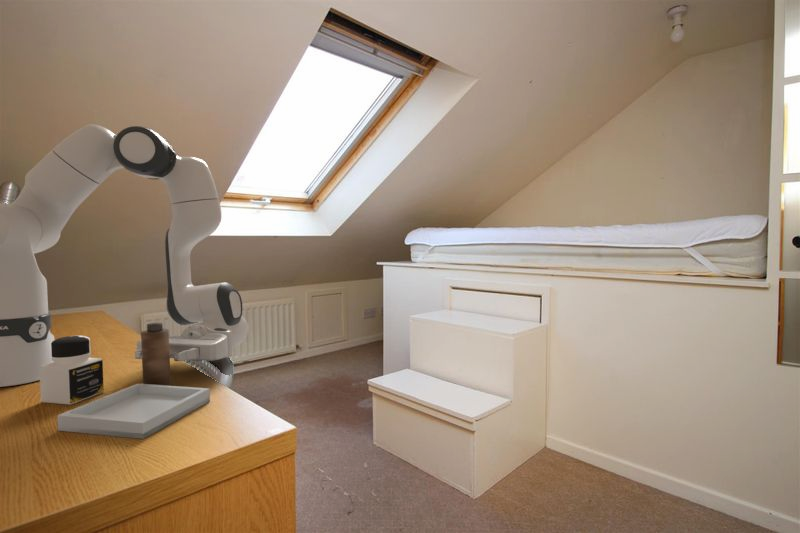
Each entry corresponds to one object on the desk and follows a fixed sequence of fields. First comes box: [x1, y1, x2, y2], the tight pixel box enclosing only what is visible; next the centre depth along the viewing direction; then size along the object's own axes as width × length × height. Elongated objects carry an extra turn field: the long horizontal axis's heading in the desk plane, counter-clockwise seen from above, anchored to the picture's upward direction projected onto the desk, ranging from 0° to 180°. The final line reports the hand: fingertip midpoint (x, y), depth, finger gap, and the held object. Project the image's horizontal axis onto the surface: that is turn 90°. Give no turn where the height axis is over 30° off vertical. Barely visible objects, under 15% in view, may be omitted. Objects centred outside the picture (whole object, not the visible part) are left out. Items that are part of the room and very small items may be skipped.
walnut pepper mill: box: [140, 322, 172, 386], centre depth 88 cm, size 5×5×14 cm
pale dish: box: [57, 383, 211, 440], centre depth 74 cm, size 16×16×2 cm
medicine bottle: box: [39, 335, 105, 406], centre depth 82 cm, size 7×7×12 cm
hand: (157, 356), depth 88 cm, fingers open, 8 cm apart
